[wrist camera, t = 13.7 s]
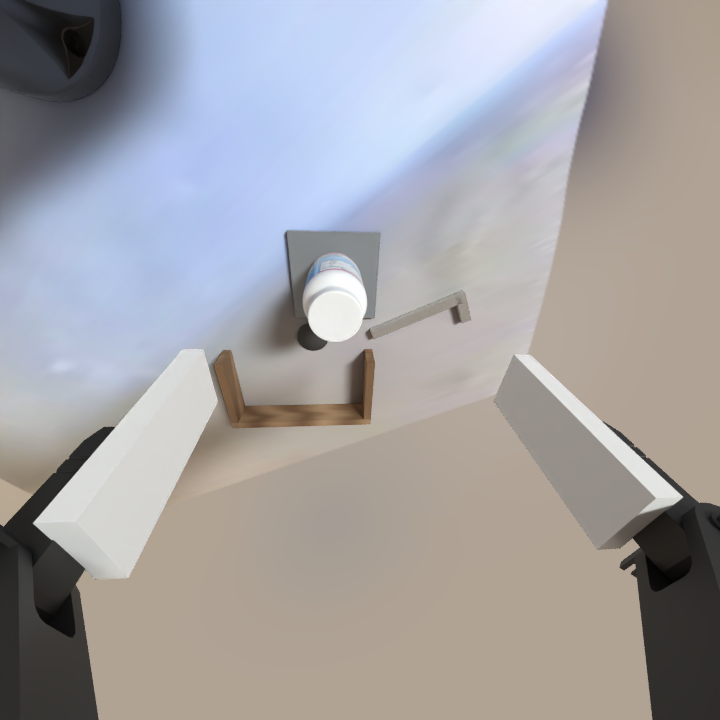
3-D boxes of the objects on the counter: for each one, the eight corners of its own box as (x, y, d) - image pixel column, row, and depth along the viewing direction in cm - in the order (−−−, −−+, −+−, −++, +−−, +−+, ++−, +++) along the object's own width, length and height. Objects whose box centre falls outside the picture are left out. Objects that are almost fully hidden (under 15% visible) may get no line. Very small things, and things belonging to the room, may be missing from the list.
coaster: (295, 315, 36) (295, 317, 35) (287, 229, 30) (286, 230, 30) (374, 316, 36) (374, 318, 36) (379, 232, 31) (380, 233, 30)
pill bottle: (331, 312, 35) (329, 361, 26) (297, 273, 32) (282, 312, 23) (371, 283, 33) (385, 324, 24) (339, 239, 30) (341, 266, 21)
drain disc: (299, 349, 38) (299, 350, 38) (296, 323, 36) (296, 323, 36) (328, 349, 39) (328, 350, 38) (327, 323, 36) (327, 323, 36)
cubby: (239, 411, 43) (232, 428, 41) (223, 350, 38) (213, 365, 35) (368, 408, 45) (370, 424, 42) (371, 349, 39) (374, 363, 36)
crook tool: (369, 327, 38) (370, 331, 37) (461, 289, 36) (465, 292, 34) (380, 350, 40) (381, 355, 39) (467, 316, 38) (471, 319, 37)
